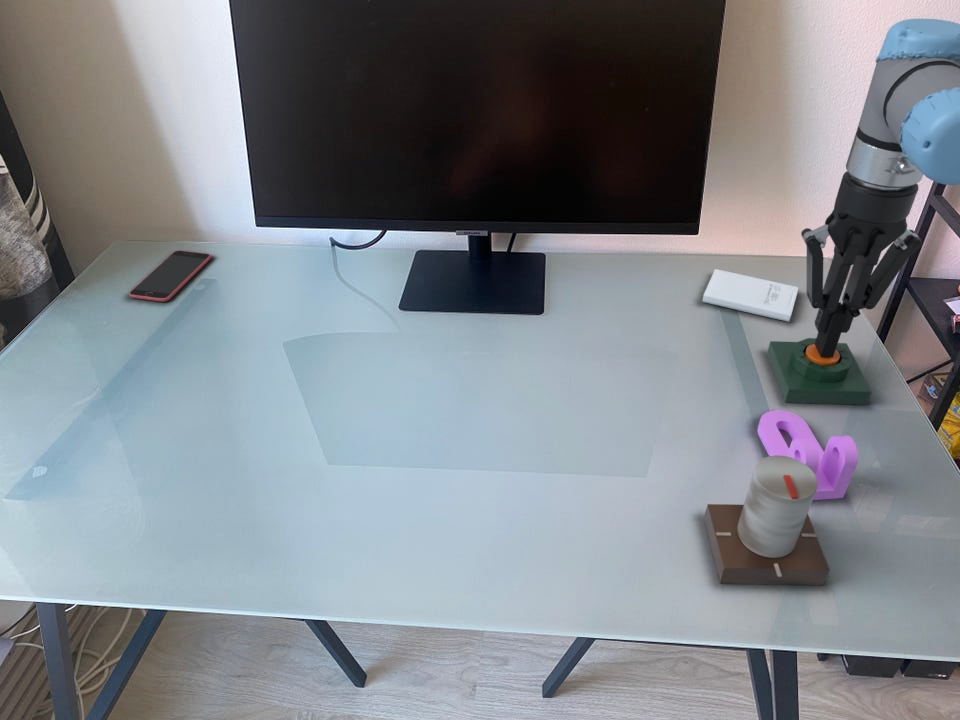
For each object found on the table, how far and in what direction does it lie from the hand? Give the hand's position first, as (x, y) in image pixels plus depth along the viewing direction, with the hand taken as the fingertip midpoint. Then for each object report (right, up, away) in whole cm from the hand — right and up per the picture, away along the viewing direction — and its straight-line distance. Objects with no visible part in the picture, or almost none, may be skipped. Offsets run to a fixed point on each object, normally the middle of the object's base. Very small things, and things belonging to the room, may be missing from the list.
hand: (823, 350), depth 95 cm
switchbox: (0, -4, +3) cm, 5 cm away
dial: (-15, -19, -20) cm, 31 cm away
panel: (-15, -21, -18) cm, 31 cm away
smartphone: (-93, +12, +25) cm, 97 cm away
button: (0, -2, +1) cm, 2 cm away
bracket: (-7, -13, -8) cm, 17 cm away
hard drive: (-3, +8, +18) cm, 19 cm away
